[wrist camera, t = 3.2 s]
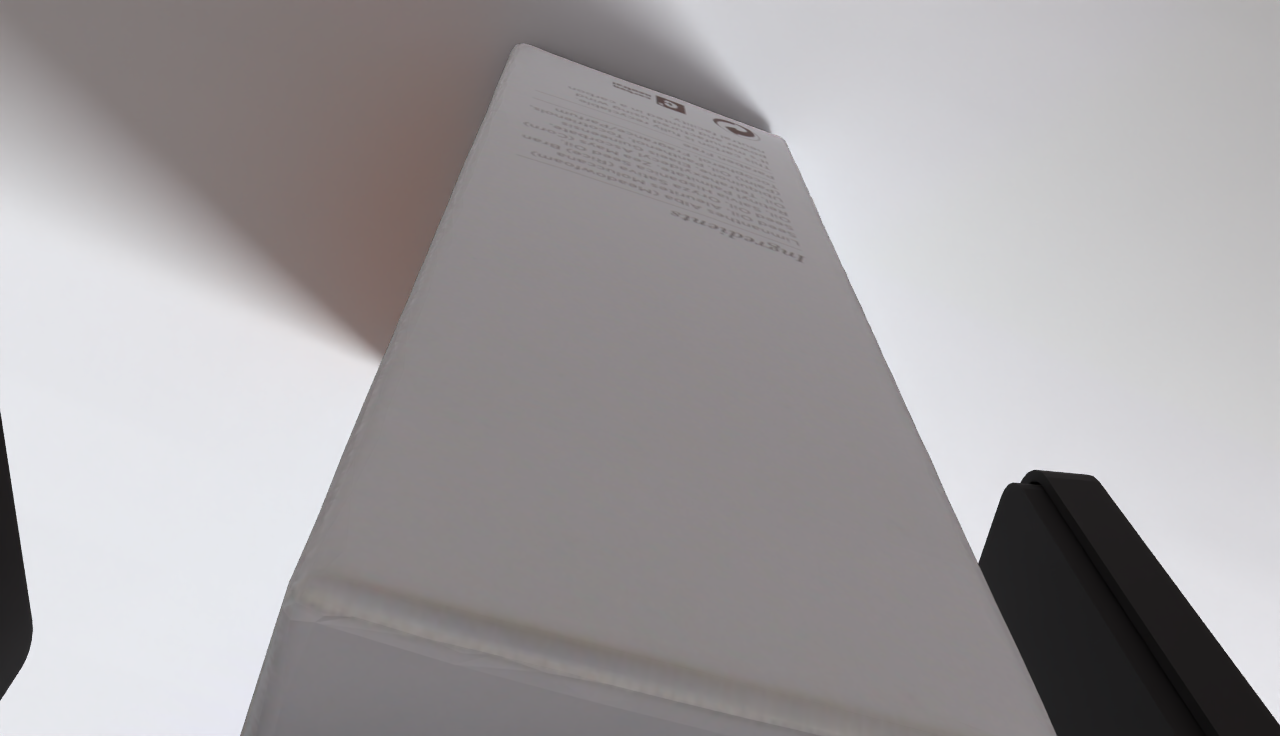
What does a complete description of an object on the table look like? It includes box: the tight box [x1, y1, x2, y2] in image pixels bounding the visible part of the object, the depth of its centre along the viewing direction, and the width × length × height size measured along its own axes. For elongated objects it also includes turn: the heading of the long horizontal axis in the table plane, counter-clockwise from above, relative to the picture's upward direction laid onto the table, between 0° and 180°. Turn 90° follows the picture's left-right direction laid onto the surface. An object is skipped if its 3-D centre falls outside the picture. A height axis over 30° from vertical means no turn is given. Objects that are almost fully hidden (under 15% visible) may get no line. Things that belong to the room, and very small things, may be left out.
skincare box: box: [240, 43, 1057, 736], centre depth 12 cm, size 6×4×12 cm
